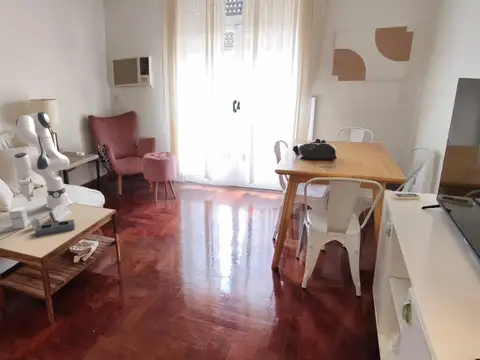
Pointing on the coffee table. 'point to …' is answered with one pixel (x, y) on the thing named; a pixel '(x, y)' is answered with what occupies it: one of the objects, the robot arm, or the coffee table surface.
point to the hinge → (59, 213)
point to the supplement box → (19, 217)
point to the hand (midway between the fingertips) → (30, 198)
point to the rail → (55, 227)
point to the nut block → (35, 222)
